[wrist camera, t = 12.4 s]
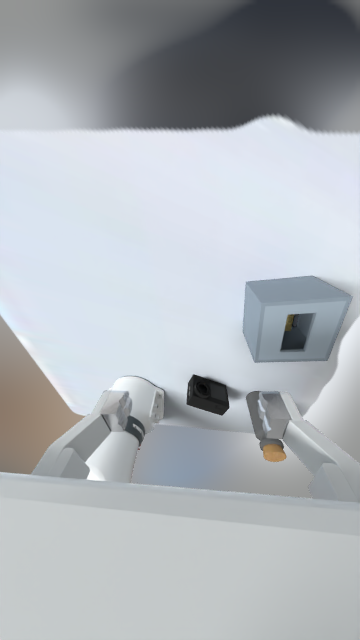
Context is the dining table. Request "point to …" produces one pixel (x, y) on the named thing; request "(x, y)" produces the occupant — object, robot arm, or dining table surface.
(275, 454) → the bottle
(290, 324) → the block
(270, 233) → the dining table surface
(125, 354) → the dining table surface
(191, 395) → the digital camera
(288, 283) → the box
